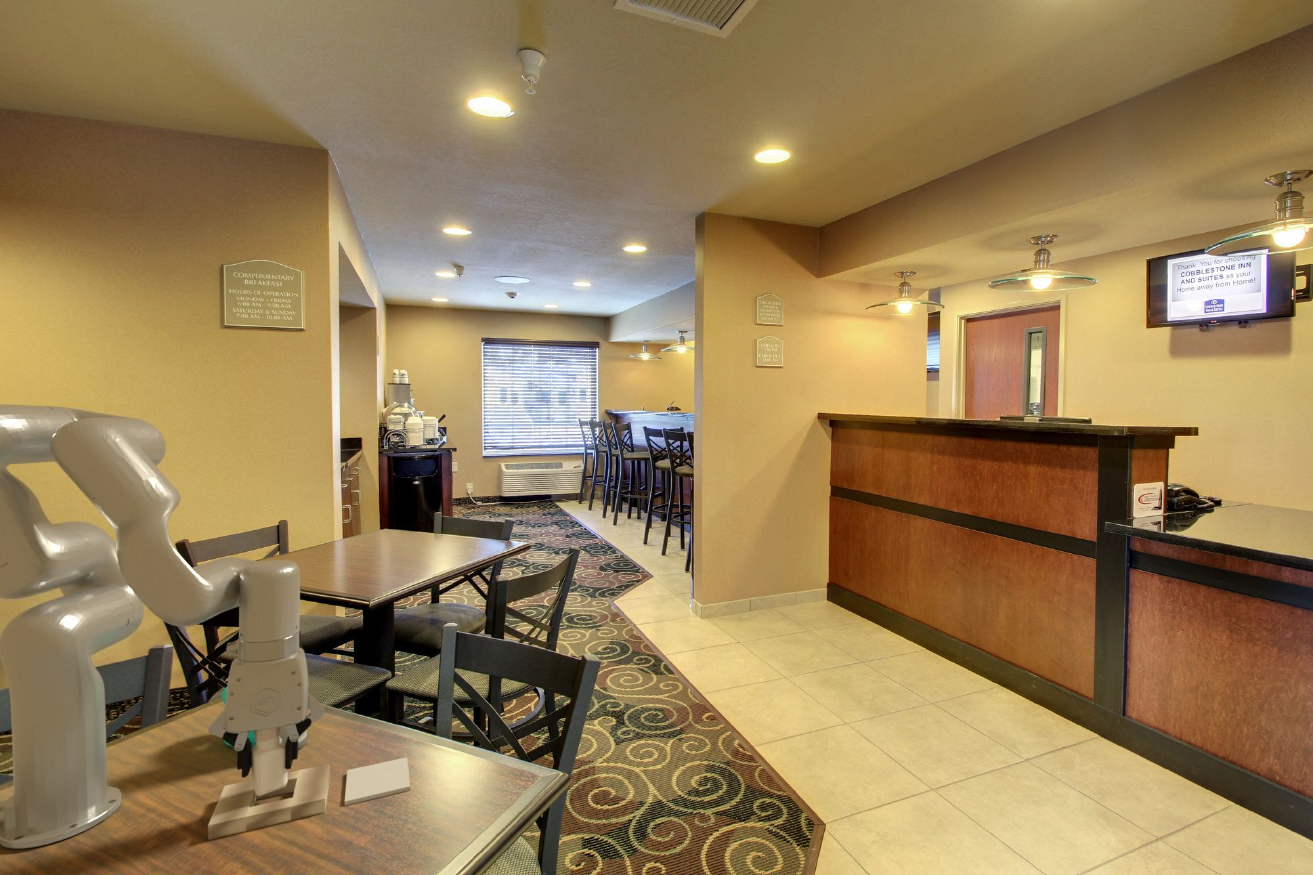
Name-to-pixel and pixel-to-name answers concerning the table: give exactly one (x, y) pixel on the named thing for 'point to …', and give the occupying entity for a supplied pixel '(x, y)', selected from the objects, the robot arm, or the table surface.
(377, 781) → the beige mat
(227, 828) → the socket block
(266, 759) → the pepper shaker
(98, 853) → the table surface
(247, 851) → the table surface
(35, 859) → the table surface
